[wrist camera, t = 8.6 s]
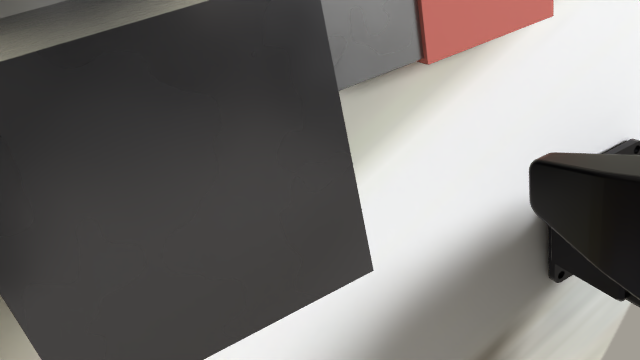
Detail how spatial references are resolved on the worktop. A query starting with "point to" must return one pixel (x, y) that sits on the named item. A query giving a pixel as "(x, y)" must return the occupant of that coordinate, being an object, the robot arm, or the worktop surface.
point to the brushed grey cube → (170, 174)
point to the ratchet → (397, 29)
